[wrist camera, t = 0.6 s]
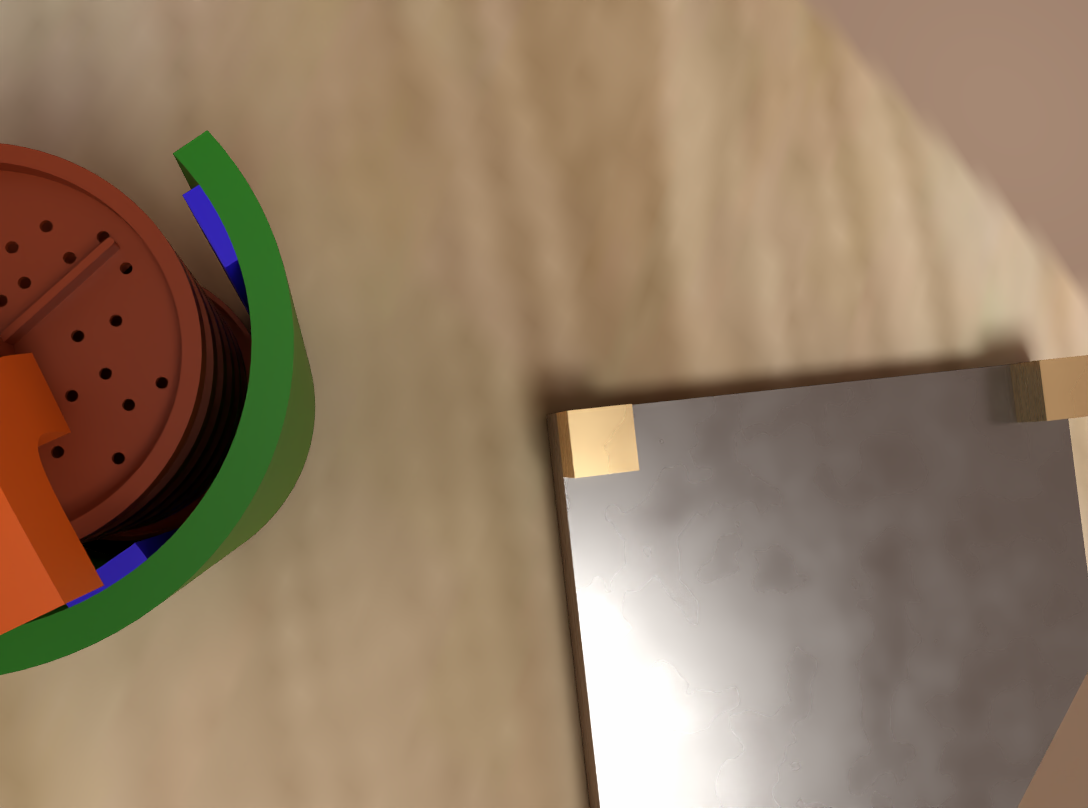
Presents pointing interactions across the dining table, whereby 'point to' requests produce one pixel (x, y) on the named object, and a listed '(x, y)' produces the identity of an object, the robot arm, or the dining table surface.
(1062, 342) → the dining table surface
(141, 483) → the motor
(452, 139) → the dining table surface
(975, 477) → the plate
